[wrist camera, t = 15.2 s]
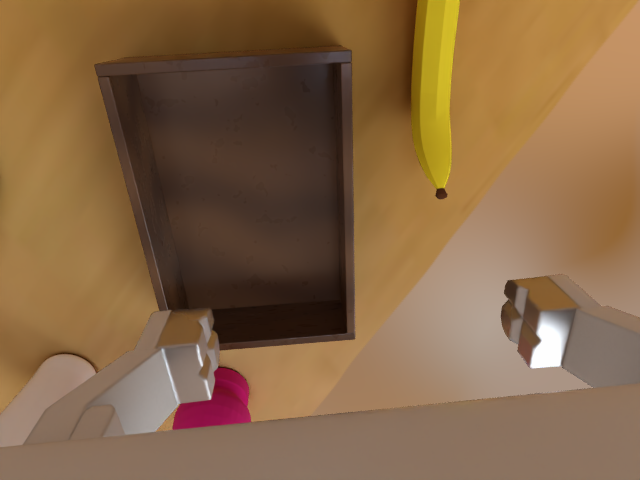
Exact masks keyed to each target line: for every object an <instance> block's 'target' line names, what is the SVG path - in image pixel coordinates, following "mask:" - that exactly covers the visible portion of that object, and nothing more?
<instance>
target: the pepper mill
mask: <svg viewBox="0 0 640 480" xmlns="http://www.w3.org/2000/svg"><path fill="white" fill-rule="evenodd" d="M213 373H214V377H215V384H214V389H213V393H212V398H211V400H205V401H198V402H190V403H182V404H181V405H180V406H179V408H178V409H177V411H176V413H175V417H174V423H173V430H178V429H188V428H198V427H208V426H218V425H228V424H238V423H248V422H251V417H250V413H249V410H248V408H247V405H248V396H249V387H248V384H247V382H246V380H245V379H244V378H243V377H242V376H241V375H240V374H239V373H237V372H235V371H233V370H230V369H226V368H217V369H216V370H215V371H214V372H213Z"/></svg>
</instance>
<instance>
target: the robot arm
mask: <svg viewBox="0 0 640 480" xmlns="http://www.w3.org/2000/svg"><path fill="white" fill-rule="evenodd" d="M504 294H505V295H506V297H507V298H508V301H507V302H506V303H505V304H504V305H503V306H502V311H501V321H502V327H503V329H504V332H505V334H506V336H507V337H508V338H509V340H510V341H512V342H515V343H516V344H518V350H517V351H518V353H519V354H520V355H521V357H522V358H523V360H524V361H525V363H526V364H527V365H528V367H529V368H543V367H557V366H562V368H563V369H565V370H567V371H568V372H570V373H571V374H573V375H574V376H576V377H577V378H579V379H581V380H582V381H584V382H585V383H587V384H588V385H590V386H591V387H593V388H587V389H577V390H567V391H557V392H547V393H538V394H527V395H518V396H508V397H497V398H488V399H477V400H468V401H458V402H448V403H438V404H428V405H418V406H408V407H399V408H389V409H378V410H368V411H358V412H348V413H338V414H328V415H318V416H308V417H298V418H288V419H278V420H268V421H258V422H248V423H238V424H228V425H218V426H208V427H198V428H188V429H178V430H168V431H158V432H155V431H156V430H157V429H158V428H159V427H160V426H161V425H162V423H163V422H164V421H165V420H166V419H167V418H168V417H169V415H170V414H171V413H172V412H173V411H174V410H175V409H176V407H177V406H178V404H182V403H190V402H198V401H205V400H211V398H212V393H213V389H214V384H215V377H214V373H213V372H214V371H215V370H216V369H217V368H218V364H219V353H220V348H219V340H218V335H217V333H216V332H215V331H214V330H212V328H213V324H214V317H213V313H212V310H211V309H210V307H209V308H195V309H181V310H167V311H157V312H154V313H152V314H151V316H150V318H149V320H148V322H147V324H146V326H145V328H144V330H143V332H142V334H141V336H140V338H139V340H138V343H137V345H136V347H135V349H134V351H128V352H126V353H125V354H123V355H122V356H120V357H119V358H118V359H116V360H115V361H113V362H112V363H110V364H109V365H108V366H106V367H105V368H103V369H102V370H101V371H99V372H98V373H96V374H95V375H93V376H92V377H91V378H89V379H88V380H86V381H85V382H83V383H82V384H81V385H79V386H78V387H76V388H75V389H74V390H72V391H71V392H69V393H68V394H66V395H65V396H64V397H62V398H61V399H59V400H58V401H56V402H55V403H54V404H52V405H51V406H49V407H48V408H47V409H45V411H44V412H43V414H42V415H41V417H40V418H39V420H38V421H37V423H36V425H35V426H34V428H33V429H32V431H31V432H30V434H29V436H28V437H27V439H26V440H25V442H24V443H23V445H18V446H8V447H0V480H640V318H639V317H636V316H634V315H631V314H628V313H626V312H623V311H620V310H617V309H615V308H612V307H609V306H601V305H600V304H598V303H597V302H596V301H595V300H594V299H593V298H592V297H591V296H589V295H588V294H587V293H586V292H585V291H584V290H583V289H582V288H580V287H579V286H578V285H577V284H576V283H575V282H574V281H572V280H571V279H570V278H569V277H568V276H567V275H564V274H558V275H550V276H544V277H535V278H526V279H517V280H508V282H507V283H506V285H505V290H504Z"/></svg>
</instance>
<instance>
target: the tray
mask: <svg viewBox="0 0 640 480" xmlns="http://www.w3.org/2000/svg"><path fill="white" fill-rule="evenodd" d="M351 61H352V51H351V50H349V49H347V48H345V47H343V46H323V47H305V48H287V49H269V50H251V51H233V52H215V53H197V54H179V55H161V56H143V57H125V58H121V59H116V60H112V61H108V62H103V63H99V64H95V65H94V66H95V70H96V74H97V76H98V81H99V85H100V88H101V92H102V96H103V100H104V103H105V107H106V111H107V115H108V118H109V122H110V126H111V130H112V133H113V137H114V141H115V145H116V148H117V152H118V156H119V160H120V164H121V167H122V171H123V175H124V179H125V182H126V186H127V190H128V194H129V197H130V201H131V205H132V209H133V212H134V216H135V220H136V224H137V227H138V231H139V235H140V239H141V243H142V246H143V250H144V254H145V258H146V261H147V265H148V269H149V273H150V276H151V280H152V284H153V288H154V291H155V295H156V299H157V303H158V306H159V310H160V311H167V310H181V309H195V308H209V307H210V309H211V310H212V313H213V317H214V324H213V328H212V330H214V331H215V332H216V333H217V335H218V340H219V348H220V350H230V349H242V348H255V347H267V346H279V345H291V344H304V343H316V342H328V341H340V340H353V339H355V279H354V201H353V123H352V63H351Z"/></svg>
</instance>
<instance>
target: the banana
mask: <svg viewBox="0 0 640 480" xmlns="http://www.w3.org/2000/svg"><path fill="white" fill-rule="evenodd" d="M459 4H460V0H418V3H417V12H416V21H415V34H414V46H413V63H412V84H411V125H412V137H413V142H414V147H415V151H416V154H417V157H418V159H419V162H420V165H421V167H422V169H423V170H424V172H425V174H426V176H427V178H428V179H429V180H430V181H431V183H432V184H433V185H434V187H435V188H436V189H437V191H436V195H435V196H436V197H437V198H438V199H444V198H446V197H447V195H448V194H447V193H446V192H445V189H444V188H445V186H446V183H447V180H448V178H449V175H450V169H451V160H452V144H451V128H450V88H451V75H452V64H453V54H454V44H455V36H456V28H457V20H458V12H459Z"/></svg>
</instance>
